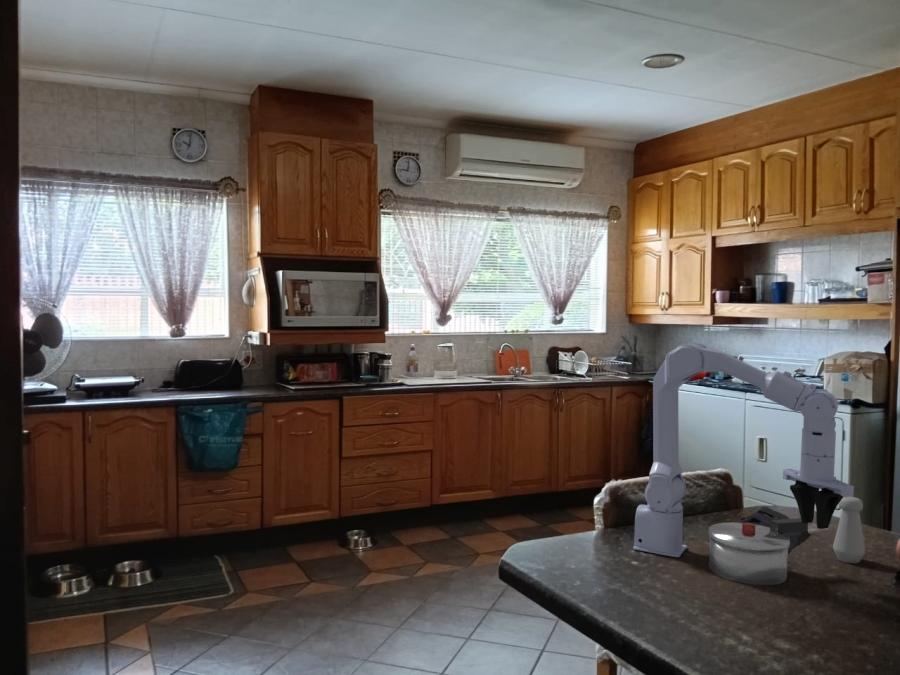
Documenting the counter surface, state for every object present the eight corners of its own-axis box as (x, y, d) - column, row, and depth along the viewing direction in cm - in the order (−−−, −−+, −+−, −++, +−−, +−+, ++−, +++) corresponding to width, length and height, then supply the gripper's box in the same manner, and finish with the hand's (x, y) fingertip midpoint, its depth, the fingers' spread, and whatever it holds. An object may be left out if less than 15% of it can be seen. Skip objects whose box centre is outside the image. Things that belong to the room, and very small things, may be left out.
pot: (782, 591, 130) (784, 558, 130) (702, 575, 137) (703, 544, 137) (792, 559, 147) (793, 530, 147) (720, 546, 154) (721, 519, 154)
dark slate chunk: (714, 542, 159) (715, 521, 159) (743, 521, 176) (744, 501, 176) (789, 558, 150) (789, 535, 150) (812, 533, 167) (812, 513, 167)
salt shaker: (868, 566, 144) (871, 502, 144) (838, 563, 146) (840, 500, 145) (858, 556, 150) (861, 495, 150) (828, 554, 151) (831, 493, 151)
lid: (740, 554, 131) (741, 537, 131) (693, 530, 145) (694, 514, 145) (831, 547, 136) (832, 530, 136) (777, 524, 150) (778, 509, 150)
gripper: (867, 460, 130) (864, 534, 131) (803, 446, 144) (800, 513, 144) (838, 462, 128) (835, 538, 128) (775, 447, 141) (773, 515, 142)
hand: (814, 525), depth 136 cm, fingers open, 3 cm apart
